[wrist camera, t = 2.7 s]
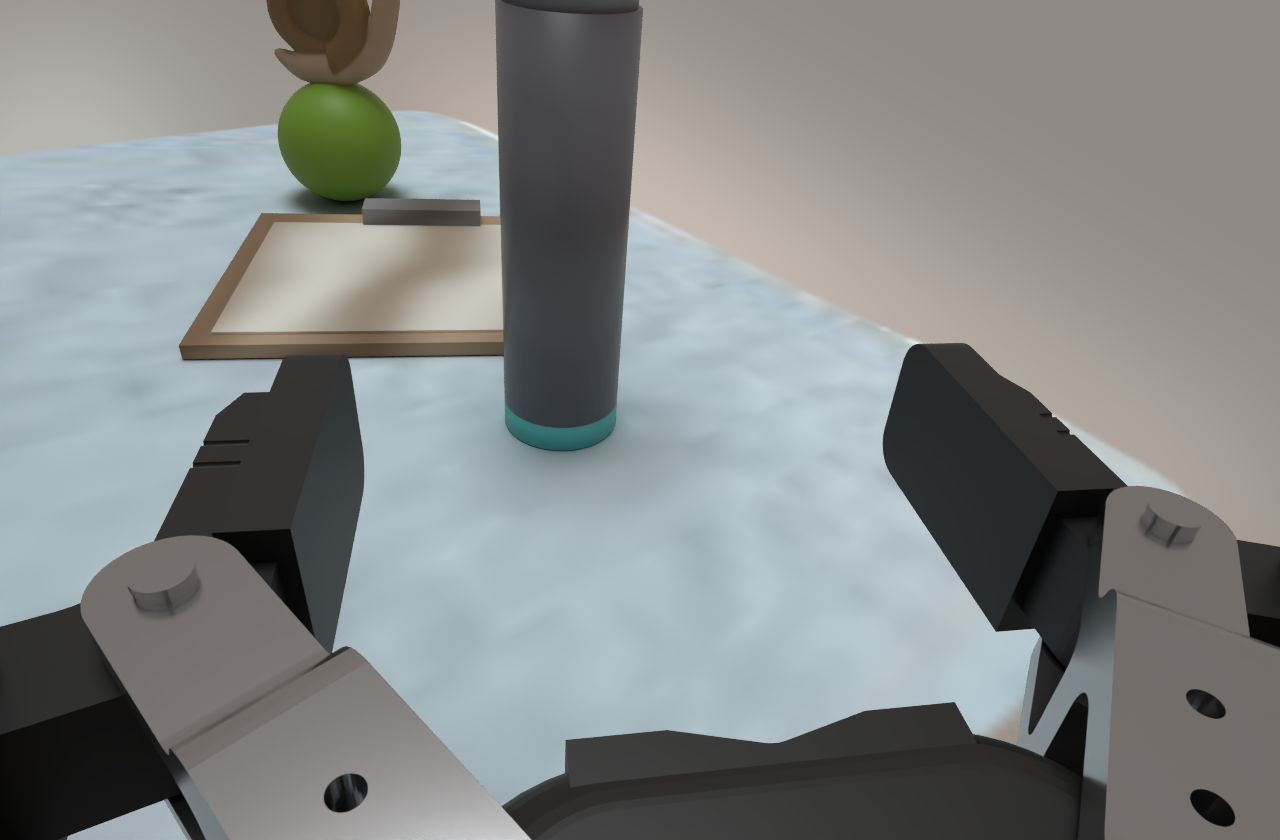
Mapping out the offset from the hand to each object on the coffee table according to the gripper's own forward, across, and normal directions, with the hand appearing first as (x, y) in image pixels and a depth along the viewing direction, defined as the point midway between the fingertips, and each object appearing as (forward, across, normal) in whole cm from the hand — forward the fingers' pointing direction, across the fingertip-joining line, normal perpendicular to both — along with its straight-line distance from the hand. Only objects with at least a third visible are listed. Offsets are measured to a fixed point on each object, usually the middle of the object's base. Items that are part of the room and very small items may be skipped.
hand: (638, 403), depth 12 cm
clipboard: (+21, +5, +8) cm, 23 cm away
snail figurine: (+31, +9, +8) cm, 33 cm away
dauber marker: (+11, 0, +8) cm, 14 cm away
